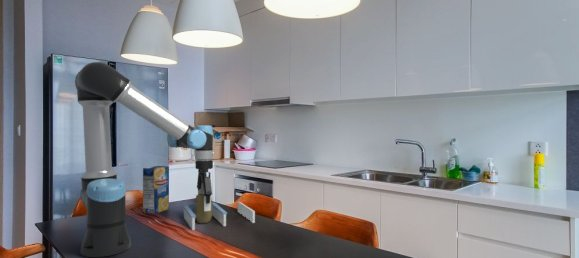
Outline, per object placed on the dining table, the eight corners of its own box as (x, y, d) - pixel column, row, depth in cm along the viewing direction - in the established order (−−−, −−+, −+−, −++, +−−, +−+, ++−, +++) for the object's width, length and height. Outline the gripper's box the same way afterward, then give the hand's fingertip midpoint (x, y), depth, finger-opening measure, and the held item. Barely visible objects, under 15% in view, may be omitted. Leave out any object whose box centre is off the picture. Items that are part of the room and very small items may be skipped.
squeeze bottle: (208, 224, 148) (208, 183, 147) (191, 223, 149) (190, 182, 149) (215, 219, 156) (215, 180, 155) (199, 219, 157) (198, 179, 157)
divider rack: (254, 222, 151) (254, 209, 151) (191, 230, 139) (191, 215, 139) (239, 211, 172) (239, 199, 172) (182, 217, 160) (182, 204, 160)
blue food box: (142, 212, 168) (142, 168, 168) (157, 207, 179) (158, 165, 179) (154, 213, 166) (154, 168, 166) (168, 208, 177) (169, 166, 177)
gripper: (219, 162, 143) (219, 212, 143) (206, 157, 165) (206, 201, 165) (201, 162, 139) (201, 214, 139) (190, 158, 162) (190, 202, 162)
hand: (204, 207), depth 152 cm, fingers open, 13 cm apart
